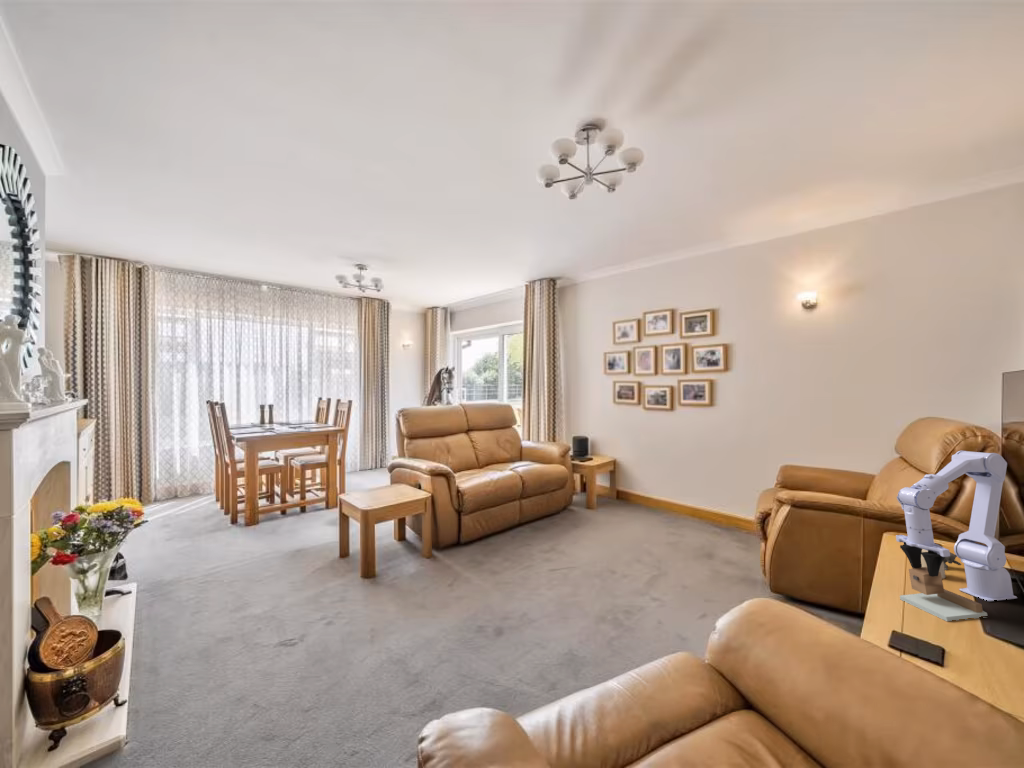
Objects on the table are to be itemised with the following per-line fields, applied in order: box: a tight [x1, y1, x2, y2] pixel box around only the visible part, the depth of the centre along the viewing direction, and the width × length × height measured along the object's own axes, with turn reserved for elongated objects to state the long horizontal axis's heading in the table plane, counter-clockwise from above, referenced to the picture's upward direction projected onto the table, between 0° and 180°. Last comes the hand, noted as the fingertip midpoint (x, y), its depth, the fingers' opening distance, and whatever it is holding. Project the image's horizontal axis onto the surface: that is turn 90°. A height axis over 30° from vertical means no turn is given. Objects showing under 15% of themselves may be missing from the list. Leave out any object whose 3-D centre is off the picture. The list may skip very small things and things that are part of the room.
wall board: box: [899, 588, 988, 622], centre depth 123 cm, size 12×14×3 cm
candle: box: [921, 549, 946, 580], centre depth 143 cm, size 6×6×10 cm
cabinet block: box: [908, 567, 945, 595], centre depth 127 cm, size 6×4×6 cm
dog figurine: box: [921, 551, 962, 571], centre depth 149 cm, size 12×6×7 cm, turn 44°
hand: (925, 572), depth 127 cm, fingers closed on cabinet block, 4 cm apart
